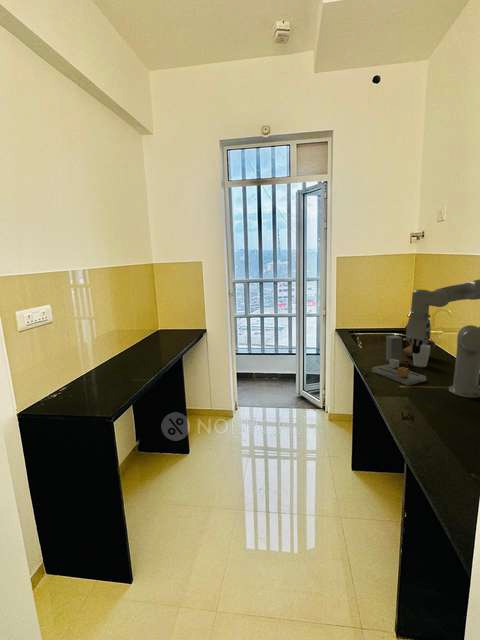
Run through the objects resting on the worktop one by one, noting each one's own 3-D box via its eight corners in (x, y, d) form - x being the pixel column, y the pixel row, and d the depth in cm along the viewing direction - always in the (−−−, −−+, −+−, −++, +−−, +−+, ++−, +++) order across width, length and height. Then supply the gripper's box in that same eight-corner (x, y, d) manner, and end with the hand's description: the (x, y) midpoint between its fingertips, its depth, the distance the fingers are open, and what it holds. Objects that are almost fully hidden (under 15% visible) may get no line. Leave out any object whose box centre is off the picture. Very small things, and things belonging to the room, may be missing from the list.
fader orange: (408, 375, 170) (408, 368, 169) (402, 377, 168) (403, 369, 168) (402, 374, 173) (403, 366, 172) (397, 375, 171) (397, 367, 171)
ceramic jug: (401, 358, 209) (403, 336, 207) (401, 352, 222) (403, 331, 220) (434, 361, 202) (437, 338, 199) (433, 355, 214) (435, 333, 212)
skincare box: (402, 363, 198) (404, 337, 195) (390, 364, 198) (391, 338, 196) (395, 359, 207) (397, 334, 204) (384, 359, 207) (385, 334, 204)
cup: (411, 366, 193) (412, 346, 191) (411, 362, 201) (413, 342, 199) (429, 368, 189) (430, 348, 187) (428, 364, 197) (430, 344, 195)
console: (425, 381, 171) (426, 376, 170) (408, 385, 165) (408, 380, 165) (388, 368, 191) (388, 363, 191) (371, 371, 186) (372, 367, 185)
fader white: (398, 366, 184) (399, 359, 183) (393, 368, 182) (394, 361, 182) (394, 365, 187) (394, 358, 186) (388, 366, 185) (389, 359, 185)
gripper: (439, 317, 154) (435, 356, 158) (410, 312, 167) (407, 348, 171) (428, 319, 151) (424, 358, 154) (400, 314, 164) (397, 350, 168)
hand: (415, 352), depth 163 cm, fingers closed
